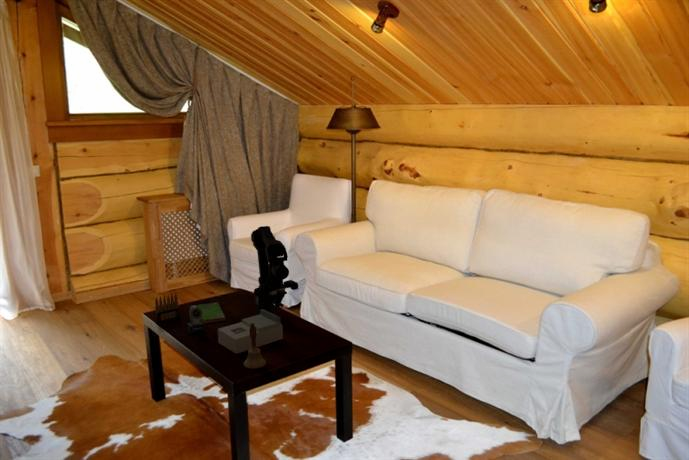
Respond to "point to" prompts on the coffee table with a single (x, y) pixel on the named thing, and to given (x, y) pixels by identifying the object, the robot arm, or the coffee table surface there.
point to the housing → (246, 337)
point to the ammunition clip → (166, 309)
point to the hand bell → (254, 352)
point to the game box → (211, 313)
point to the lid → (263, 320)
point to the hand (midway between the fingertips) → (277, 308)
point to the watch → (195, 320)
